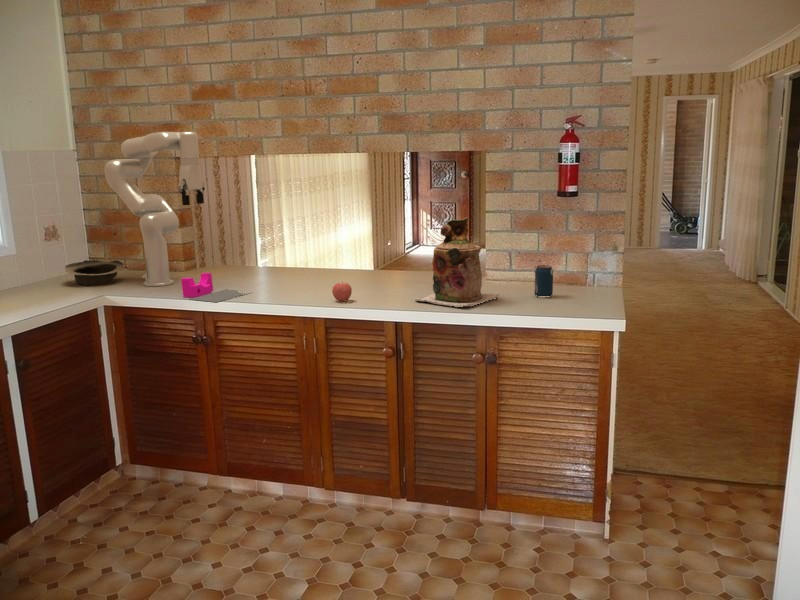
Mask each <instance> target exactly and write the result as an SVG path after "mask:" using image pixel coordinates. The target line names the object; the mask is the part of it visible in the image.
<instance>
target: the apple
mask: <svg viewBox="0 0 800 600" xmlns="http://www.w3.org/2000/svg"><path fill="white" fill-rule="evenodd" d="M331 289H332V290H331V291H332V295H333V297H334V299H335V300H336V301H337V302H340V303H341V302H346V301H348V300H349V299H350V298H351V297H352V290H353V289H352V286H351V285H350V284H349V283H348V282H344V281H343V280H342V282H338V283H335V284H334V285H333V287H332V288H331Z"/></svg>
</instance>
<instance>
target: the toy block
mask: <svg viewBox="0 0 800 600" xmlns="http://www.w3.org/2000/svg"><path fill="white" fill-rule="evenodd" d="M180 282H181V289H182V290H181V291H182V297H183V298H195V297H199V296H202V295H206V294H210V293H213V292H212V291H214V287H213V286H214V285H213V278H212V272H202V273H200V279H199V282H198V283H197V284H196V281H195V280H194V277H183V278H181V279H180Z"/></svg>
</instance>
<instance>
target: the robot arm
mask: <svg viewBox="0 0 800 600" xmlns="http://www.w3.org/2000/svg"><path fill="white" fill-rule="evenodd" d="M120 149H121V153H122V154H123V156H125V157H126V158H118V159H117V158H116V159H112V160H109V161H108V162H107V163H106V164H105V166H104V177H105V180H106V182H107V184H108V185H109V186H110V188H111V190H113V191H114V192H115V194H117V195H118V197H120V199H121V200H122V201H123V202H124V204H125V205H126V207H127V208H128V209H129V210H130V211H131V213H132V214H133V215H134V216H136V217H140V220H139V228H140V232H141V235H142V239H143V248H144V259H145V269H146V270H145V271H146V273H144V274H142V275H141V278H142V279H145V281H143V286H145V287H163V286H170V285H172V284H174V279H171V277H170V267H169V266H170V265H169V254H168V252H169V251H168V244H167V241H166V239H165V236H164V235H163V234H168V233H169V234H170V233H173V232H175V231H177V230H178V229H179V225H180V220H179V217H178V215H177V214H176V213H175V211H174V210H173V209H172V207H171V206H170V205H169V203H167V201H166V200H165V198H163V197H162V196H161V195H159V194H156V193H143V192H142V191H141V190H140V189H139V187H138V186H137V185H136V184H135V183H133V181H132V182H131V181H130V180H129V179H138V178H139V179H140V178H141V177H143V176H144V175H145V174H146V172H147V171H148V168H149V167H150V164H151V163H152V161H153V158H154V156H155V155H157V154H158V152H162V151H163V152H165V151H173V152H174V151H175V152H176V151H177V152H178V151H179V159H180V166H179V173H178V174H179V175H178V176H179V181H178V184H177V188H178V191H179V193H180V196H181V202H182V206H190V204H191V202H190V201H191V200H190V195H189V193H190V191H195V192H196V194H195V195H196V196H195V197H196V204H197V205H198V204H205V199H204V198H205V197H204V194H205V188H206V183H205V182H204V181H203V176H202V170H201V165H200V164H201V163H200V155H199V154H200V153H199V152H200V151H199V138H198V134H197V133H196V132H195V131H180V132H179V131H159V132H153V133H148V134H146V135H143V136H138V137H133V138H128V139H126V140H124V141H123V142H122V144H121V146H120Z"/></svg>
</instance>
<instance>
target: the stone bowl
mask: <svg viewBox="0 0 800 600" xmlns="http://www.w3.org/2000/svg"><path fill="white" fill-rule="evenodd" d="M64 269H65V270H64V271H65V272H66V273H68V274H69V275H70V274H71V275H73V276H74V280H75V282H76V284H78V285H84V286H92V285H93V286H95V285H103V284H104V283H107V282H109V281H112V280H113V279H115V278H116V277H117V276H118V272H119V271H122V270H123V269H124V263H123V262H121V261H120V260H115V259H114V260H112V261H103V260H98V259H92V260H87V259H86V260H83V261H78V262H73V263H70V264H67V265H64Z"/></svg>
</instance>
